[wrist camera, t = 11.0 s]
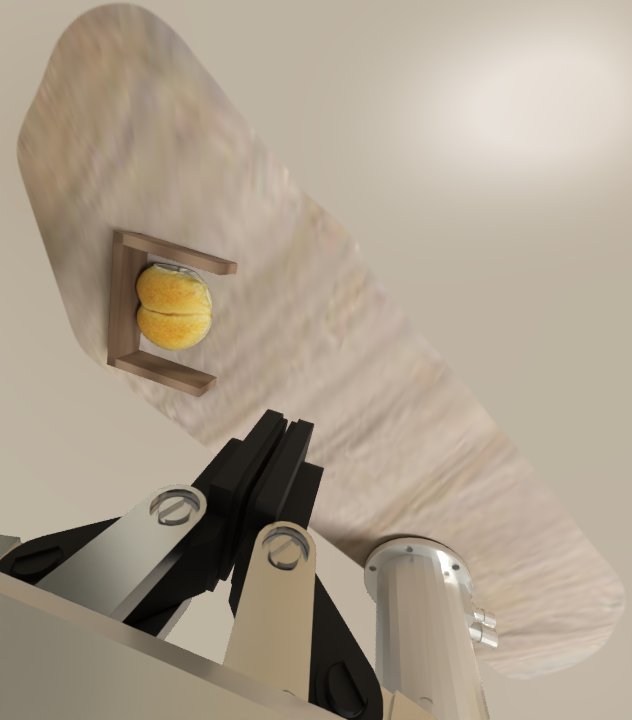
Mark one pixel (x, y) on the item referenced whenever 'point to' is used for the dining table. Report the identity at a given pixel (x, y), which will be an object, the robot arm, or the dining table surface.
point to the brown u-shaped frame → (127, 303)
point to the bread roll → (173, 306)
